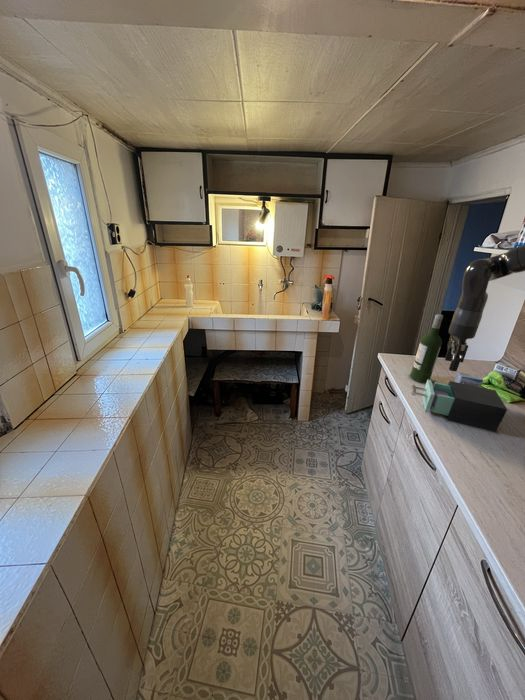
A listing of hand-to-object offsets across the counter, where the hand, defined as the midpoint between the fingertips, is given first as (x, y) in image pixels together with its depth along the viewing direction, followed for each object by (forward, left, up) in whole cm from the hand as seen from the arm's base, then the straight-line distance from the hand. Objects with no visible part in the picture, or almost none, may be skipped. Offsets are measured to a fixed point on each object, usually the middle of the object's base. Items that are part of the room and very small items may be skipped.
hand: (450, 365), depth 99 cm
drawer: (0, 0, -17) cm, 18 cm away
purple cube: (-1, 0, -16) cm, 16 cm away
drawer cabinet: (-10, 0, -18) cm, 21 cm away
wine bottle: (+4, -23, -19) cm, 30 cm away
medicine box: (-12, -17, -19) cm, 28 cm away
